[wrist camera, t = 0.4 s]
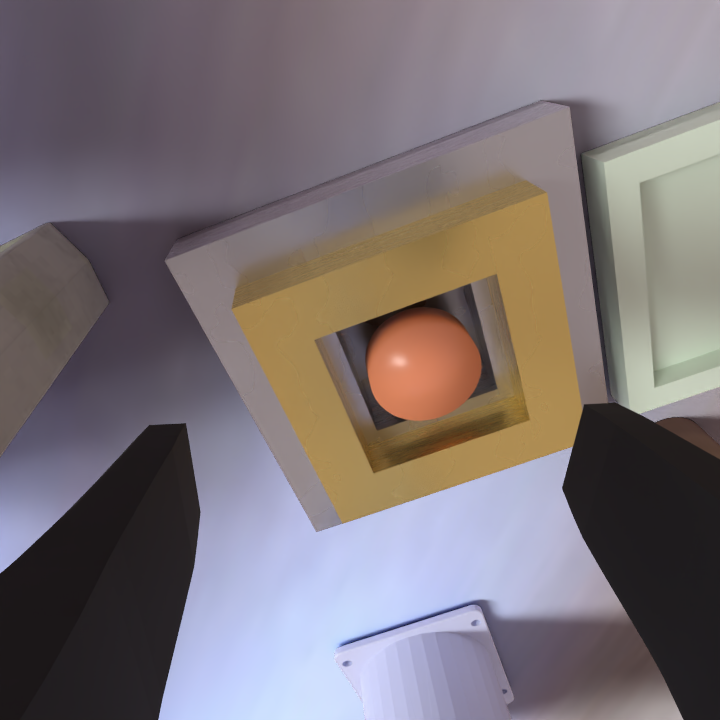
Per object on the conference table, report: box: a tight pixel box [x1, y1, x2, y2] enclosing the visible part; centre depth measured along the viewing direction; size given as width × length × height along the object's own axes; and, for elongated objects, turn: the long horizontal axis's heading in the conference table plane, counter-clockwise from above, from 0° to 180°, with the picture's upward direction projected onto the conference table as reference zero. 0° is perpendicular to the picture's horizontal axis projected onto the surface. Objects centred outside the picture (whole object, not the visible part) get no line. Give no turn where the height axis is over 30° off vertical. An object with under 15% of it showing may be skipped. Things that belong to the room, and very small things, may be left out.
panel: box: [165, 100, 608, 532], centre depth 19 cm, size 12×12×4 cm
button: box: [365, 307, 482, 421], centre depth 18 cm, size 4×4×1 cm
